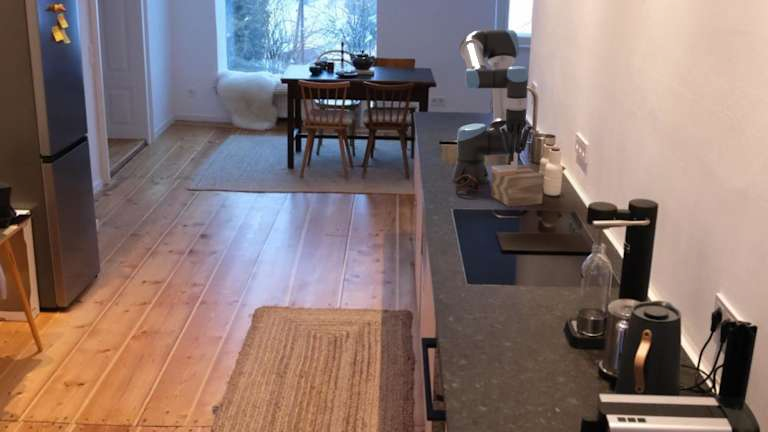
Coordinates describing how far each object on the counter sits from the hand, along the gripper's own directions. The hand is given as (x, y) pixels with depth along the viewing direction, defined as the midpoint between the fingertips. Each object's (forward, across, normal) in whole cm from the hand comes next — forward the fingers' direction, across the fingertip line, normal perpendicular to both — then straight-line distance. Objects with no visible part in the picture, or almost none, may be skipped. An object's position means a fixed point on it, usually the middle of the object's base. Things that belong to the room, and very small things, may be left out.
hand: (513, 169), depth 328 cm
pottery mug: (+13, -12, +16) cm, 23 cm away
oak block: (+12, +1, 0) cm, 12 cm away
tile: (+1, -4, 0) cm, 4 cm away
